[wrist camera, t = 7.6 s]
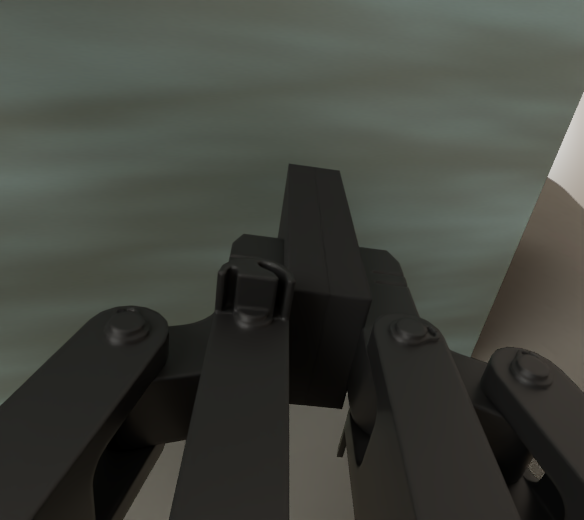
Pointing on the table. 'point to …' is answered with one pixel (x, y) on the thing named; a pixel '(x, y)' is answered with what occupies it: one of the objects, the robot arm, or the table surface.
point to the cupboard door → (267, 146)
